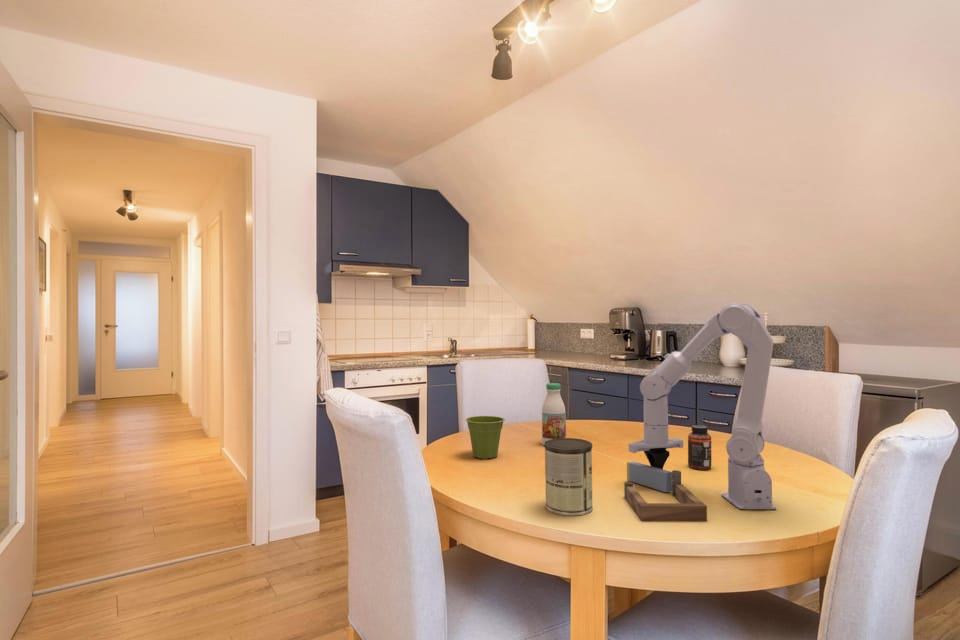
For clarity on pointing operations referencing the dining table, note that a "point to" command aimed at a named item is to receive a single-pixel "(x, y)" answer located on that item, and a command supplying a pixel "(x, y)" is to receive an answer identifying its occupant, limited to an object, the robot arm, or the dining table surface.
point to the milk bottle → (553, 414)
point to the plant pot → (485, 435)
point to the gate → (649, 476)
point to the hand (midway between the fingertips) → (656, 479)
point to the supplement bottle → (699, 448)
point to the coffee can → (568, 476)
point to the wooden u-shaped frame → (668, 504)
